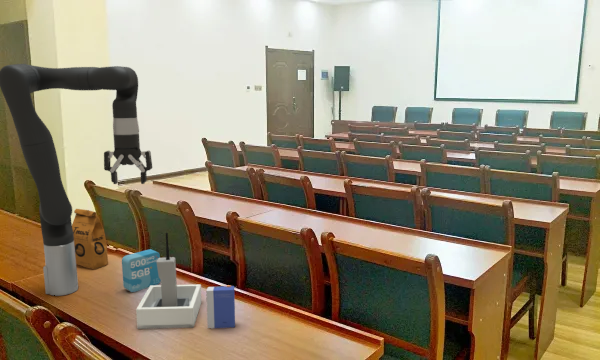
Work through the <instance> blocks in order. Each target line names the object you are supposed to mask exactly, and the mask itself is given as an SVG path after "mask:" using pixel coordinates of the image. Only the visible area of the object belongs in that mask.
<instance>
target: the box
mask: <svg viewBox="0 0 600 360" xmlns="http://www.w3.org/2000/svg"><path fill="white" fill-rule="evenodd" d="M177 303H178V307H161V305H162V292H161V284H157V285H150V287H148V288H147V290H146V292H145V294H144V295H143V297H142V299H141V301H140V302H139V304H138V305H137V307H136V309H135V312H136V314H135V315H136V328H137V330H143V329H144V330H148V329H150V330H151V329H179V328H181V329H182V328H183V329H185V328H187V329H188V328H195V324H196V321H197V318H198V315H199V311H200V308H201V305H202V284H197V283H196V284H177Z"/></svg>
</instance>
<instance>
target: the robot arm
mask: <svg viewBox="0 0 600 360" xmlns="http://www.w3.org/2000/svg"><path fill="white" fill-rule="evenodd" d="M51 89H62V90H63V89H64V90H71V91H100V90H104V91H105V90H107V91H116V92H115V99H114V100H112V105H111V106H112V108H111V109H112V118H113V119H112V133H113V134H112V136H113V145H114V146H113V147H114V150H113V151H111V150H106V151H104V153H103V169H104V171H107V172H110V180H111V183H113V185H117V184H118V182H119V179H118V178H119V177H118V171H117V170H118V168H119V167H120V166H121V165H122V166H126V165H128V166H135V167H136V168H138V170H139V171H140V183H141V185H145V183H146V182H147V181H148V178H147V176H148V175H147V172H148V171H151V170H152V169H153V161H152V153H151V151H150V150H146V151H141V144H140V127H139V121H138V110H137V109H138V108H137V100H138V91H139V77H138V75H137V73H136V71H135V70H134V69H133V68H131V67H129V66H118V65H116V66H103V67H102V66H101V67H99V66H98V67H96V66H78V67H77V66H74V67H60V68H59V67H58V68H57V67H56V68H55V67H54V68H53V67H44V66H37V65H33V64H27V63H16V64H7V65H4V66H3V67H1V69H0V90H1V92H2V95H3V96H4V100H5V102H6V104H7V107H8V109H9V112H10V114H11V119H12V120H13V124H14V127H15V130H16V133H17V137H18V140H19V145H20V149H21V151H22V155H23V158H24V161H25V163H26V166H27V168H28V170H29V173H30V175H31V176H32V179H33V181H34V183H35V186H36V189H37V192H38V198H39V207H38V208H39V210H38V211H39V219H40V228H41V230H40V231H41V235H42V241H43V244H42V245H43V253H44V261H45V262H44V263H45V265H44V266H43V267H42V269H43V270H42V271H43V278H44V279H43V280H44V289H45V295H51V296H54V295H55V296H56V297H58V296H65V295H66V296H67V295H69V294H73V293H76V292H77V291H78V289H79V281H78V280H79V279H78V269H77V264H76V256H75V245H74V233H73V229H72V224H73V222H72V215H73V206H72V203H71V202H70V200H69V197H68V194H67V193H66V190H65V187H64V185H63V181H62V175H61V169H60V164H59V163H60V162H59V160H58V158H59V157H58V154H57V151H56V149H57V148H56V145H55V142H54V140H53V135H52V133H51V132H50V130H49V128H48V127H47V125H46V124H45V123H44V121H43V120H42V119H41V118H40V116H39V115H38V113H37V111H36V109H35V106H34V102H33V99H32V96H31V94H33V93H35V92H39V91H45V90H51ZM113 156H114V158H115V159H116V160H115V162H114V164H112V166H111V159H112V158H113ZM141 156H142V157H143V159H145V164H143V162H142V161H141V159H140V158H141ZM145 165H146V166H145Z"/></svg>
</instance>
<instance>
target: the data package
mask: <svg viewBox="0 0 600 360" xmlns="http://www.w3.org/2000/svg"><path fill="white" fill-rule="evenodd" d="M158 258H161V255H160V252H158V251H156V250H153V249H151V248H150V249H144V250H142V251H138V252H134V253H130V254H125V255H124V256H123V257H122V259H121V269H122V270H121V271H122V285H123V288H124V290H127V291H129V292H131V293H135V292H136V293H137V292H139V291H141V290H142V291H143V290H145V289H148V288H149V287H150V285H160V284H161V280H160V278H159V275H158V269H157V260H158Z"/></svg>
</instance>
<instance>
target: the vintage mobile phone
mask: <svg viewBox="0 0 600 360" xmlns="http://www.w3.org/2000/svg"><path fill="white" fill-rule="evenodd" d="M165 252H166V253H165V255H166V257H160V258H158V260H157V269H158V275H159V278H160V280H161V281H160V285H161V292H162V305H161V307H178V303H177V285H178V284H177V264H176V257H174V256H172V257H171V256H170V247H169V233H168V232H165Z"/></svg>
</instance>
